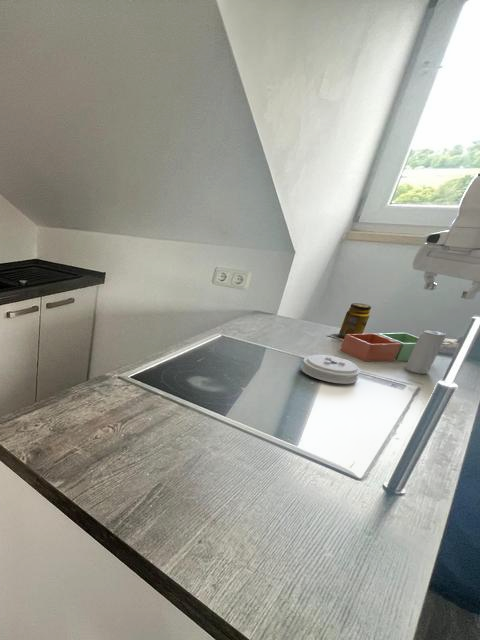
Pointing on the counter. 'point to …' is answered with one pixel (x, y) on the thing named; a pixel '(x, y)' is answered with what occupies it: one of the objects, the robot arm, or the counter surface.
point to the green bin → (402, 344)
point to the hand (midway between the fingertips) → (447, 293)
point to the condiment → (354, 321)
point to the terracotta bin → (370, 347)
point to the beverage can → (425, 351)
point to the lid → (330, 369)
